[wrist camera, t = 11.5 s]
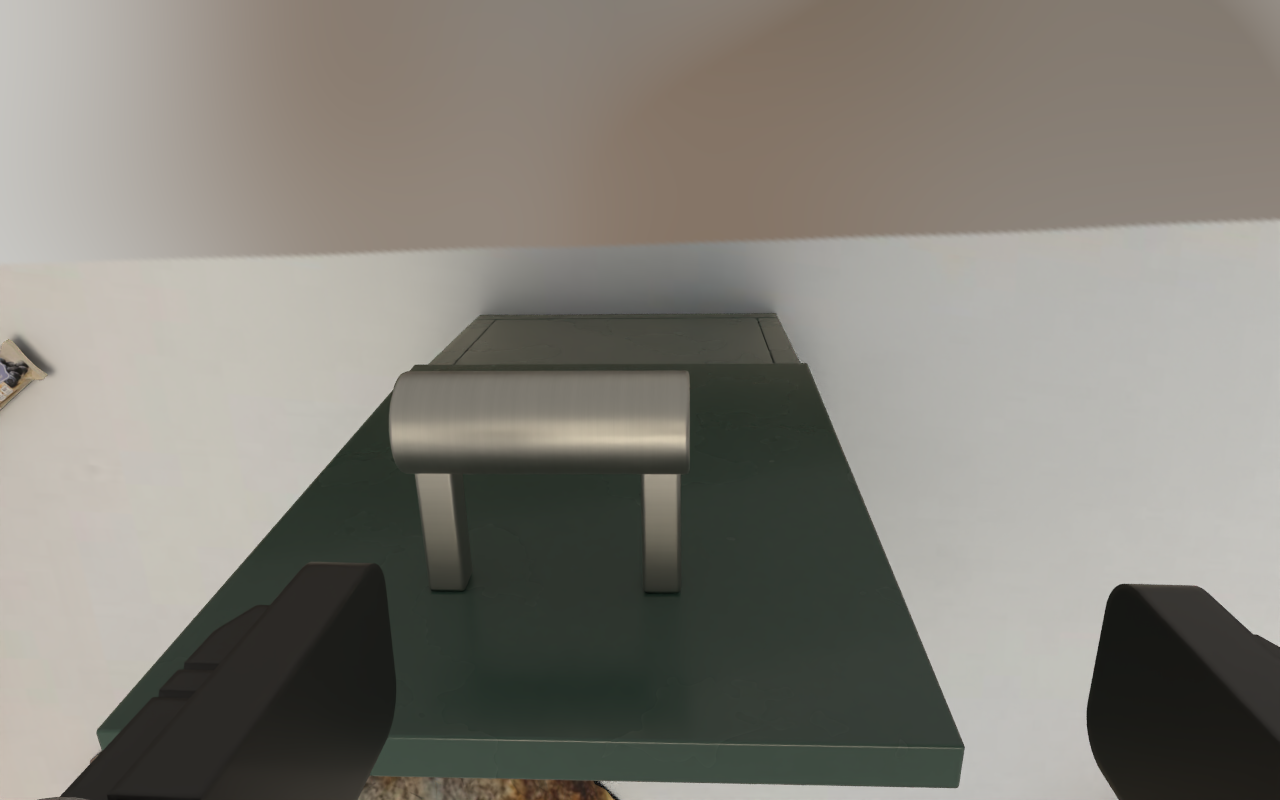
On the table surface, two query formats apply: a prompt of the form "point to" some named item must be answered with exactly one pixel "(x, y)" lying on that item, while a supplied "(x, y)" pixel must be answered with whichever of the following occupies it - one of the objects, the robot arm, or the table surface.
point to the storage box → (621, 340)
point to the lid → (615, 582)
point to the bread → (477, 789)
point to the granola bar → (15, 372)
